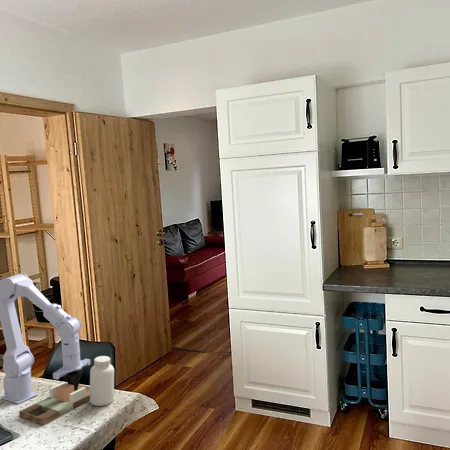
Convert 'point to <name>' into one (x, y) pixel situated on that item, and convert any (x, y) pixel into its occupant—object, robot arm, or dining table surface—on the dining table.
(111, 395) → the pill bottle
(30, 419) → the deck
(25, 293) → the robot arm
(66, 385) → the block
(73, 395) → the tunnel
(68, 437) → the dining table surface
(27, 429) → the dining table surface
